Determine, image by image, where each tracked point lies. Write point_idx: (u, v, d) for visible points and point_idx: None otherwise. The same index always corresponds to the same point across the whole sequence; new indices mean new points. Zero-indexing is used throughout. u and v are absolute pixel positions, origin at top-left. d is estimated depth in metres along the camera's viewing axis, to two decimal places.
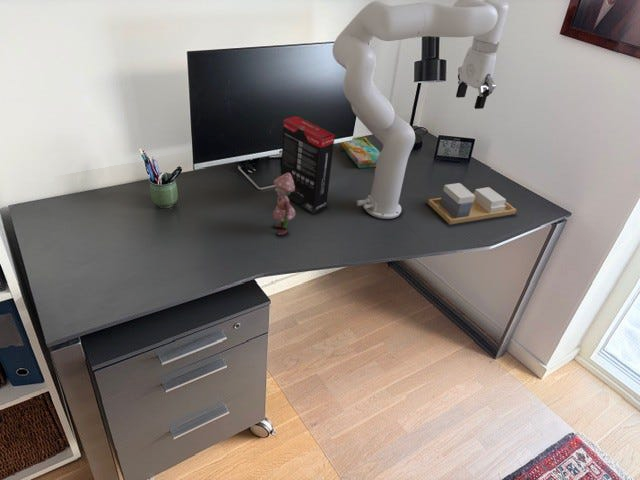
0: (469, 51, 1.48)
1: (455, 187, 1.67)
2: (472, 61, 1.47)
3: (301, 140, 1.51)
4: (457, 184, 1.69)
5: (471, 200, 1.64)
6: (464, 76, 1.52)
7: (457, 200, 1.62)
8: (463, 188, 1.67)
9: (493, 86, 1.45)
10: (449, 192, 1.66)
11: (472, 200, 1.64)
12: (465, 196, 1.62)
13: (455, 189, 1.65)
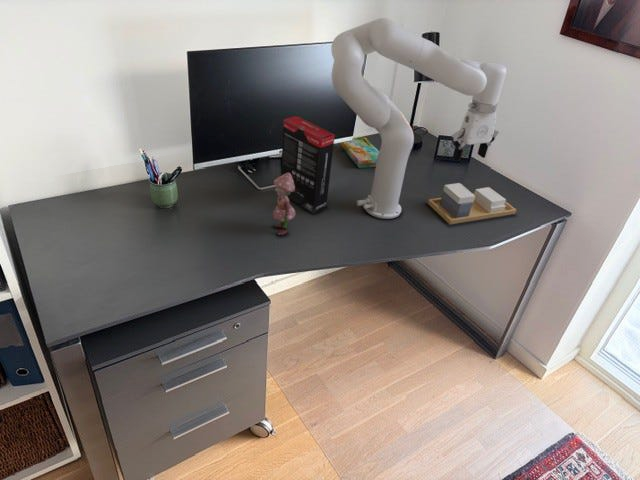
0: (478, 117, 1.48)
1: (455, 187, 1.67)
2: (484, 123, 1.50)
3: (301, 140, 1.51)
4: (457, 184, 1.69)
5: (471, 200, 1.64)
6: (475, 139, 1.52)
7: (457, 200, 1.62)
8: (463, 188, 1.67)
9: None
10: (449, 192, 1.66)
11: (472, 200, 1.64)
12: (465, 196, 1.62)
13: (455, 189, 1.65)
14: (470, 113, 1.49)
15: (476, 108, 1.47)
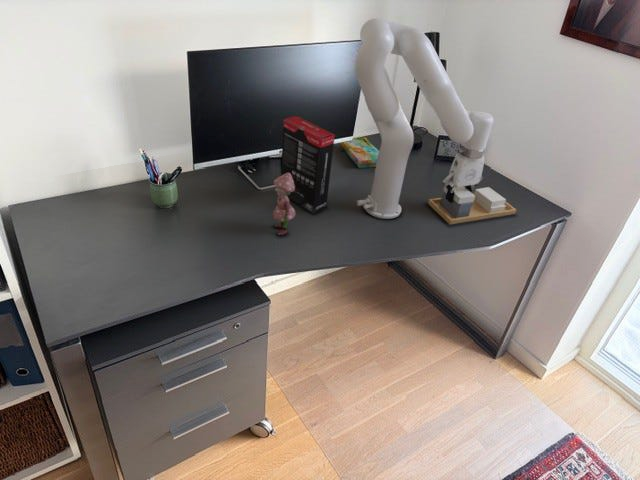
0: (466, 161, 1.56)
1: None
2: (472, 167, 1.58)
3: (301, 140, 1.51)
4: None
5: (471, 200, 1.64)
6: (463, 182, 1.60)
7: (457, 200, 1.62)
8: (463, 188, 1.67)
9: None
10: None
11: (472, 200, 1.64)
12: (465, 196, 1.62)
13: (455, 189, 1.65)
14: (459, 158, 1.56)
15: (464, 153, 1.55)
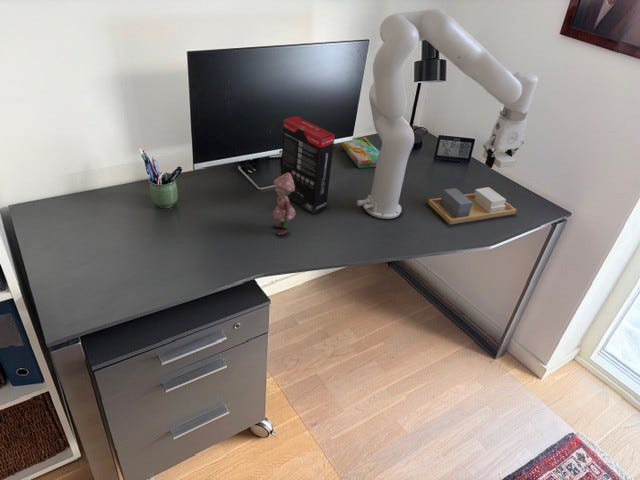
0: (509, 124, 1.53)
1: None
2: (514, 130, 1.55)
3: (301, 140, 1.51)
4: None
5: (512, 165, 1.61)
6: (505, 145, 1.57)
7: (498, 164, 1.60)
8: (503, 153, 1.64)
9: None
10: None
11: (513, 165, 1.62)
12: (507, 160, 1.60)
13: (495, 154, 1.63)
14: (501, 120, 1.54)
15: (507, 115, 1.53)
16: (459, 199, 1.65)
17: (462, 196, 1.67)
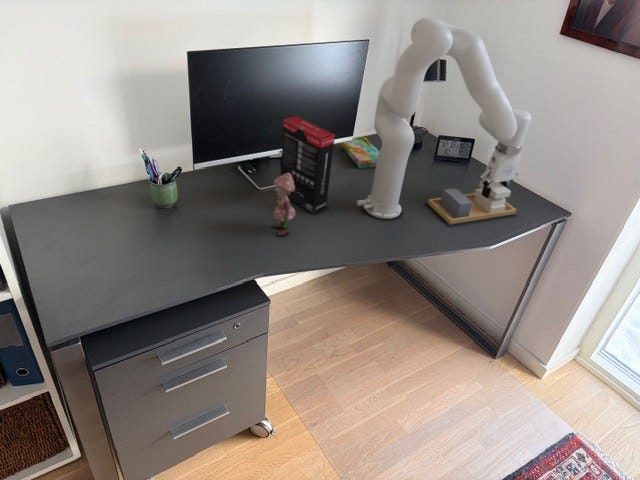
0: (504, 158, 1.61)
1: None
2: (509, 163, 1.63)
3: (301, 140, 1.51)
4: None
5: (507, 195, 1.69)
6: (500, 177, 1.65)
7: (494, 195, 1.68)
8: (498, 184, 1.72)
9: None
10: None
11: (508, 195, 1.69)
12: (502, 191, 1.68)
13: None
14: (496, 154, 1.62)
15: (502, 150, 1.60)
16: (459, 199, 1.65)
17: (462, 196, 1.67)
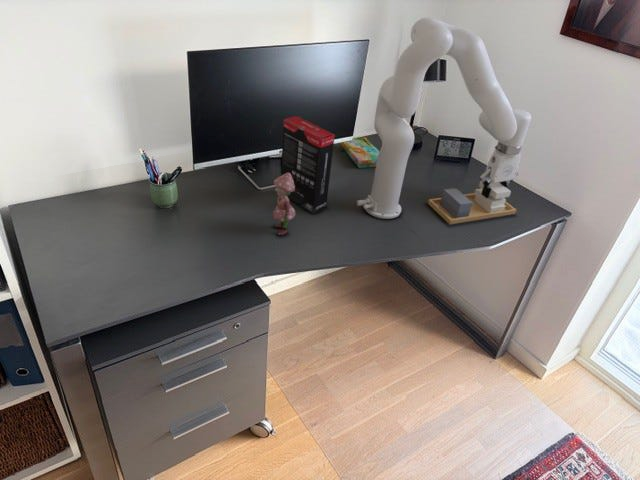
0: (504, 158, 1.61)
1: None
2: (509, 163, 1.63)
3: (301, 140, 1.51)
4: None
5: (507, 195, 1.69)
6: (500, 177, 1.65)
7: (494, 195, 1.68)
8: (498, 184, 1.72)
9: None
10: None
11: (508, 195, 1.69)
12: (502, 191, 1.68)
13: None
14: (496, 154, 1.62)
15: (502, 150, 1.60)
16: (459, 199, 1.65)
17: (462, 196, 1.67)
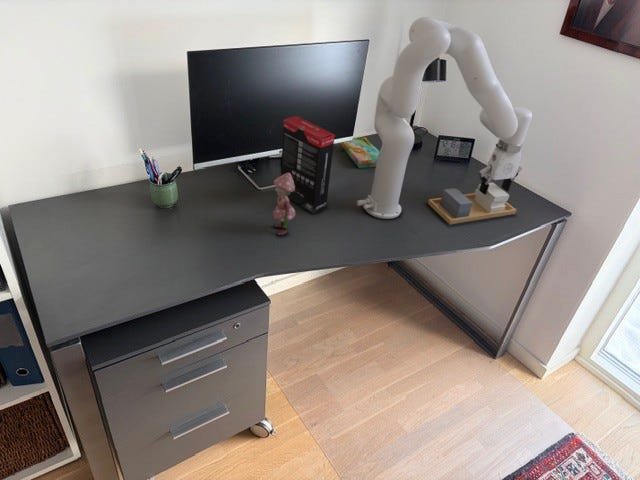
0: (504, 156, 1.61)
1: (489, 186, 1.73)
2: (510, 161, 1.63)
3: (301, 140, 1.51)
4: (491, 184, 1.75)
5: (505, 199, 1.70)
6: (501, 175, 1.65)
7: (492, 199, 1.69)
8: (497, 187, 1.73)
9: None
10: None
11: (506, 199, 1.70)
12: (500, 195, 1.69)
13: (489, 189, 1.72)
14: (497, 152, 1.61)
15: (503, 148, 1.60)
16: (459, 199, 1.65)
17: (462, 196, 1.67)
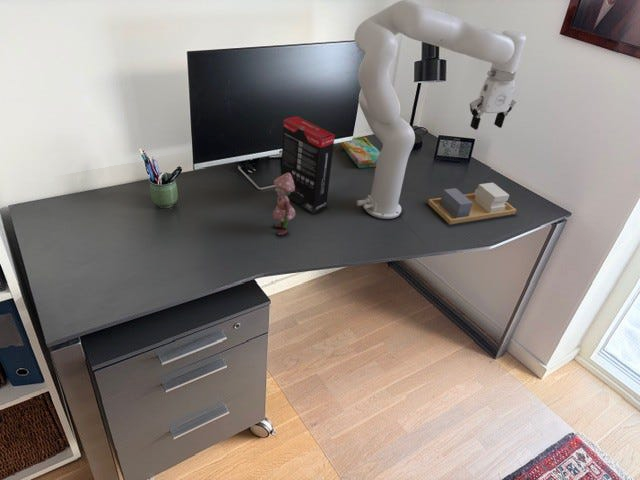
0: (497, 85, 1.50)
1: (489, 186, 1.73)
2: (502, 91, 1.52)
3: (301, 140, 1.51)
4: (491, 184, 1.75)
5: (505, 199, 1.70)
6: (493, 107, 1.55)
7: (492, 199, 1.69)
8: (497, 187, 1.73)
9: None
10: (484, 191, 1.72)
11: (506, 199, 1.70)
12: (500, 195, 1.69)
13: (489, 189, 1.72)
14: (489, 81, 1.51)
15: (495, 76, 1.50)
16: (459, 199, 1.65)
17: (462, 196, 1.67)
